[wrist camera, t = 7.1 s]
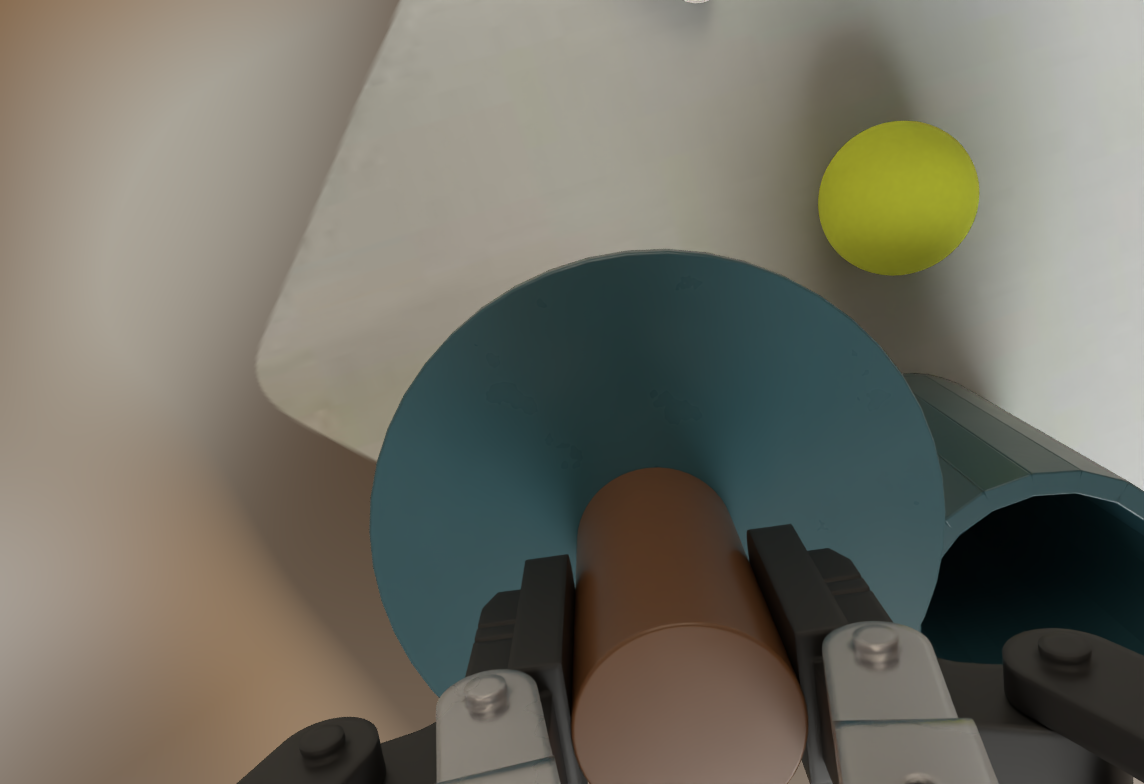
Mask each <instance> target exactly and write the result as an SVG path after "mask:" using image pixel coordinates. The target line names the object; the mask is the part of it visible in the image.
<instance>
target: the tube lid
mask: <svg viewBox="0 0 1144 784" xmlns="http://www.w3.org/2000/svg"><path fill="white" fill-rule="evenodd" d="M945 513H946V511H945V500H944V488H943V476H942V472H941V468H940V464H939V459H938V455H937V451H936V446H935V442H934V439H933V437H932V434H931V432H930V429H929V426H928V424H927V421H926V419H925V416H924V414H923V411H922V409H921V406H920V405H919V403H918V401H917V399H916V398H915V396H914V394H913V392H912V391H911V389H910V387H909V385H908V384H907V382H906V380H905V378H904V377H903V375H902V373H901V372H900V371H899V370H898V368H897V367H896V366H895V364H894V363H893V362H892V361H891V359H890V358H889V357H888V355H887V354H886V353H885V352H884V350H883V349H882V348H881V346H880V345H879V344H878V343H877V342H876V341H875V340H874V339H873V338H872V337H871V336H870V335H868V334H867V333H866V332H865V331H864V330H863V329H862V328H861V327H860V326H859V325H858V324H857V323H856V322H855V321H854V320H853V319H852V318H851V317H849V316H848V315H846V314H845V313H844V312H842V311H841V310H840V309H838V308H837V307H835V306H834V305H833V304H831V303H830V302H829V301H827V300H826V299H824V298H823V297H822V296H820V295H818V294H817V293H815V292H813V291H811V290H809V289H807V288H805V287H803V286H802V285H800V284H798V283H796V282H794V281H792V280H790V279H789V278H787V277H785V276H783V275H781V274H778V273H775V272H773V271H770V270H767V269H765V268H762V267H759V266H757V265H754V264H751V263H748V262H746V261H742V260H738V259H733V258H729V257H724V256H720V255H715V254H711V253H706V252H696V251H684V250H673V249H653V250H631V251H622V252H617V253H611V254H605V255H600V256H594V257H588V258H585V259H582V260H579V261H576V262H572V263H569V264H566V265H563V266H560V267H557V268H553V269H550V270H548V271H546V272H544V273H542V274H540V275H537V276H535V277H533V278H531V279H529V280H527V281H525V282H523V283H520V284H518V285H516V286H514V287H513V288H511V289H510V290H508V291H507V292H505V293H503V294H502V295H500V296H499V297H497V298H496V299H494V300H493V301H491V302H489V303H488V304H486V305H485V306H483V307H482V308H481V309H480V310H478V311H477V312H476V313H475V314H474V315H472V316H471V317H470V318H469V319H468V320H467V321H465V322H464V323H463V324H462V325H461V326H460V327H458V328H457V329H456V330H455V331H454V332H453V333H452V334H451V335H450V336H449V337H448V338H447V340H446V341H445V342H444V343H443V344H442V345H441V346H440V347H439V348H438V350H437V351H436V352H435V353H434V354H433V355H432V356H431V357H430V359H429V360H428V361H427V362H426V363H425V364H424V366H423V367H422V369H421V370H420V372H419V373H418V375H417V376H416V378H415V379H414V381H413V382H412V384H411V385H410V387H409V388H408V390H407V391H406V393H405V394H404V396H403V398H402V400H401V402H400V404H399V406H398V408H397V410H396V412H395V415H394V417H393V419H392V421H391V423H390V425H389V427H388V429H387V432H386V436H385V439H384V442H383V445H382V448H381V451H380V454H379V457H378V460H377V464H376V471H375V476H374V482H373V487H372V493H371V502H370V542H371V551H372V560H373V569H374V572H375V577H376V581H377V585H378V589H379V593H380V596H381V601H382V603H383V605H384V608H385V610H386V613H387V616H388V618H389V620H390V623H391V626H392V628H393V631H394V633H395V635H396V636H397V638H398V640H399V642H400V644H401V646H402V647H403V649H404V651H405V653H406V654H407V656H408V658H409V660H410V661H411V663H412V664H413V666H414V667H415V668H416V670H417V671H418V672H419V674H420V675H421V676H422V678H423V679H424V680H425V682H426V683H427V684H428V686H429V687H430V688H431V690H432V691H433V692H434V693H435V694H436V695H437V696H438V697H439V698H440V697H441V695H442V694H443V693H444V692H445V691H446V690H447V689H448V688H449V687H450V686H452V685H453V684H455V683H456V682H458V681H460V680H461V679H464V678H465V676H466V672H467V668H468V664H469V660H470V655H471V651H472V647H473V643H475V640H474V639H475V635H476V631H477V629H478V623H479V619H480V615H481V611H482V608H483V607H484V606H485V605H486V604H487V603H488V602H489V601H490V600H491V599H492V598H493V597H494V596H495V595H496V594H497V593H498V592H504V591H512V590H519V589H521V584H522V578H523V572H524V566H525V561H526V560H528V559H536V558H543V557H550V556H557V555H565V554H568V555H569V558H570V562H571V567H572V572H573V578H574V584H575V617H574V646H573V676H572V705H571V740H572V745H573V750H574V754H575V757H576V760H577V762H578V765H579V767H580V769H581V771H582V773H583V775H584V776H585V778H586V779H587V781H588V782H589V784H788V783H789V781H790V780H791V778H792V777H793V775H794V774H795V772H796V770H797V768H798V766H799V764H800V762H801V760H802V757H803V753H804V750H805V747H806V742H807V736H808V712H807V704H806V701H805V698H804V694H803V691H802V689H801V686H800V684H799V682H798V679H797V677H796V674H795V672H794V669H793V667H792V665H791V662H790V660H789V657H788V655H787V652H786V650H785V648H784V645H783V643H782V640H781V638H780V635H779V633H778V631H777V628H776V626H775V623H774V621H773V618H772V616H771V614H770V611H769V609H768V606H767V604H766V601H765V599H764V597H763V594H762V592H761V589H760V587H759V584H758V582H757V580H756V577H755V575H754V572H753V570H752V567H751V565H750V563H749V556H748V547H747V530H749V529H756V528H764V527H771V526H778V525H786V524H792V526H793V527H794V529H795V531H796V532H797V534H798V536H799V538H800V539H801V541H802V543H803V544H804V546H805V548H806V550H807V551H809V550H817V549H824V548H830V549H832V550H834V551H836V552H837V553H839V554H841V555H843V556H845V557H847V558H849V559H851V561H852V562H853V564H854V565H855V567H856V568H857V570H858V571H859V573H860V574H861V577H862V578H864V580H865V581H866V583H867V584H868V586H869V587H870V591H872V592H873V593H874V595H875V596H876V598H877V599H878V601H879V602H880V604H881V605H882V607H883V608H884V609H885V611H886V612H887V614H888V615H889V617H890V618H891V620H892V621H893V623H898V624H901V625H905V626H908V627H910V628H913V629H915V630H917V631H918V629H919V627H920V625H921V623H922V621H923V619H924V617H925V615H926V612H927V609H928V606H929V604H930V601H931V598H932V595H933V592H934V589H935V586H936V583H937V579H938V574H939V569H940V563H941V558H942V553H943V548H944V531H945Z"/></svg>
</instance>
